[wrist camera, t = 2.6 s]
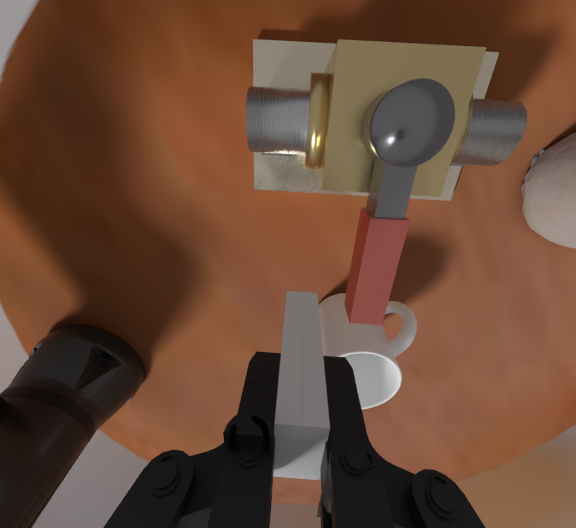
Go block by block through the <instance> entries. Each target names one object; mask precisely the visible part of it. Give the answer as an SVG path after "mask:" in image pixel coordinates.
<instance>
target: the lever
mask: <svg viewBox="0 0 576 528" xmlns="http://www.w3.org/2000/svg"><path fill="white" fill-rule="evenodd" d="M454 121H455V106H454V102H453V99H452V96H451V94H450V93H449V91H448V90H447V89H446V88H445V87H444V86H443V85H442V84H441V83H439V82H437V81H435V80H432V79H427V78H418V79H413V80H410V81H407V82H405V83H403V84H401V85H399V86H397V87H394V88H392V89H390V90H388V91H386V92H384V93H383V94H381V95H380V96H379V97H378V98H377V99H376V100H375V101H374V102H373V103H372V105H371V106H370V108H369V109H368V111H367V114H366V116H365V119H364V123H363V140H364V143H365V146H366V148H367V150H368V151H369V152H370V154H371V155H372V156H374V157H375V163H374V168H373V174H372V179H371V184H370V190H369V195H368V200H367V206H366V208H361V212H360V218H359V224H358V229H357V235H356V240H355V246H354V252H353V257H352V263H351V268H350V274H349V280H348V285H347V291H346V296H345V302H344V304H345V308H346V312H347V316H348V319H349V323H356V324H372V325H382V323H383V319H384V316H385V312H386V308H387V305H388V301H389V297H390V293H391V290H392V286H393V282H394V279H395V275H396V271H397V267H398V264H399V260H400V256H401V253H402V249H403V245H404V242H405V238H406V234H407V230H408V227H409V223H410V220H409V219H407V218H406V217H405V213H406V210H407V206H408V202H409V198H410V194H411V190H412V186H413V182H414V179H415V175H416V171H417V167H418V165H420V164H423V163H425V162H427V161H428V160H430V159H431V158H433V157H434V156H435V155H436V154H437V153H438V152H439V151H440V150H441V149H442V148H443V146H444V145H445V144H446V142H447V140H448V139H449V137H450V135H451V132H452V129H453V126H454Z"/></svg>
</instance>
